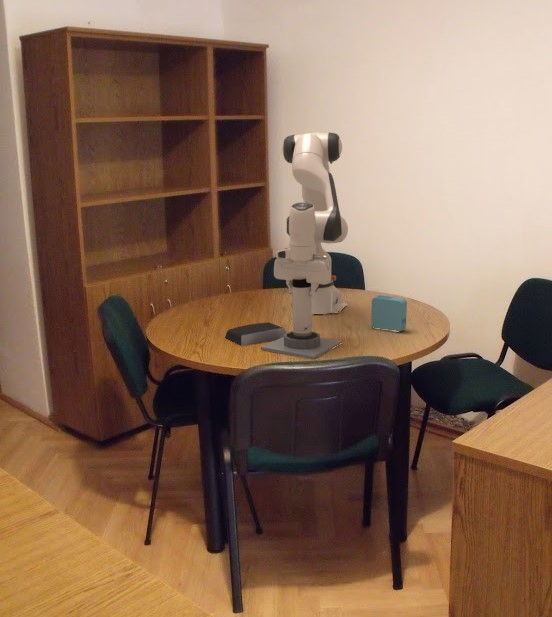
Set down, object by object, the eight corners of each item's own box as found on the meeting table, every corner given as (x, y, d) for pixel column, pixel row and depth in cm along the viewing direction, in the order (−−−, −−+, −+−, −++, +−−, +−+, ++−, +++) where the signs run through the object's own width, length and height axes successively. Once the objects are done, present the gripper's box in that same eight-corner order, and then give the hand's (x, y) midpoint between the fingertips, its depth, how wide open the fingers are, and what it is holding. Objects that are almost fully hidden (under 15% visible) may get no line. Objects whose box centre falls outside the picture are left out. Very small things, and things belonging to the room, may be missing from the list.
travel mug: (310, 337, 238) (309, 278, 233) (291, 336, 240) (290, 277, 235) (314, 331, 244) (314, 274, 239) (295, 330, 246) (294, 273, 241)
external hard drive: (289, 338, 254) (289, 327, 253) (242, 348, 244) (242, 336, 243) (269, 330, 265) (269, 320, 264) (223, 339, 254) (223, 328, 253)
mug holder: (292, 335, 256) (292, 324, 255) (342, 343, 246) (342, 332, 245) (261, 349, 240) (260, 338, 239) (313, 359, 229) (313, 347, 228)
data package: (406, 330, 262) (407, 298, 259) (400, 333, 258) (402, 301, 255) (376, 326, 268) (377, 294, 265) (370, 328, 265) (371, 297, 262)
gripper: (335, 254, 232) (334, 296, 236) (281, 249, 243) (281, 289, 246) (325, 257, 227) (325, 300, 231) (271, 252, 238) (271, 292, 241)
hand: (302, 294), depth 239 cm, fingers closed on travel mug, 6 cm apart
